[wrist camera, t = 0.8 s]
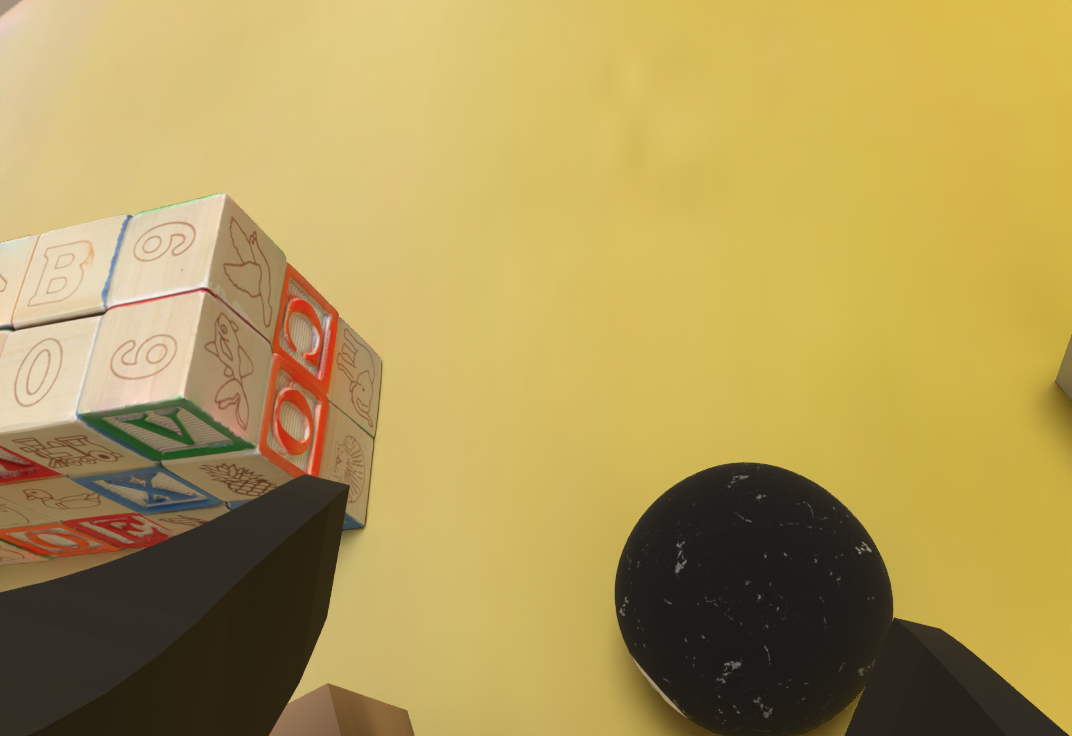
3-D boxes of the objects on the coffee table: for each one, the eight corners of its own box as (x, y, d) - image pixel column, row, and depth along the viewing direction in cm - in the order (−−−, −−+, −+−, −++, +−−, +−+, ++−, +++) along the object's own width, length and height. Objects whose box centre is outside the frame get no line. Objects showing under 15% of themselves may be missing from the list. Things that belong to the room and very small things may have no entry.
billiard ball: (602, 622, 25) (533, 559, 20) (760, 470, 26) (731, 373, 21) (765, 808, 22) (732, 789, 17) (942, 631, 22) (960, 561, 17)
